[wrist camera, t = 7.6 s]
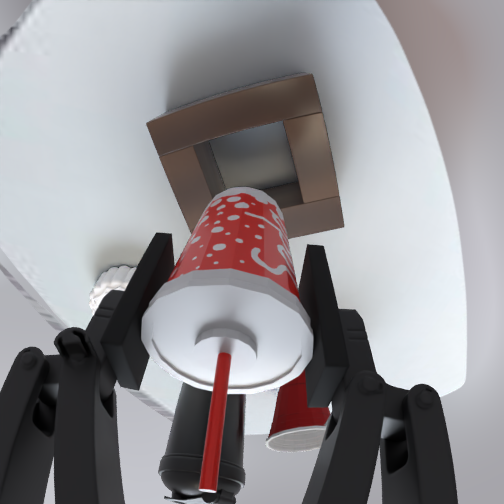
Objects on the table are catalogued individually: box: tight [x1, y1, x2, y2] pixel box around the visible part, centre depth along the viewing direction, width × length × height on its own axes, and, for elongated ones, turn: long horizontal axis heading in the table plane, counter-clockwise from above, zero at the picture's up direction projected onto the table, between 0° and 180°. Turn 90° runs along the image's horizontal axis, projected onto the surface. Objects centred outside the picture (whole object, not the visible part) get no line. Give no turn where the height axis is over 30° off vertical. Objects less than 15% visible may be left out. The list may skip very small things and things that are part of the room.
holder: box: [146, 72, 344, 239], centre depth 26 cm, size 13×13×5 cm
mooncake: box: [89, 266, 137, 316], centre depth 38 cm, size 12×12×4 cm
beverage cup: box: [141, 187, 313, 493], centre depth 12 cm, size 6×6×14 cm
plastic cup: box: [266, 369, 330, 452], centre depth 42 cm, size 11×11×12 cm
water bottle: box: [158, 382, 246, 504], centre depth 35 cm, size 10×10×23 cm
